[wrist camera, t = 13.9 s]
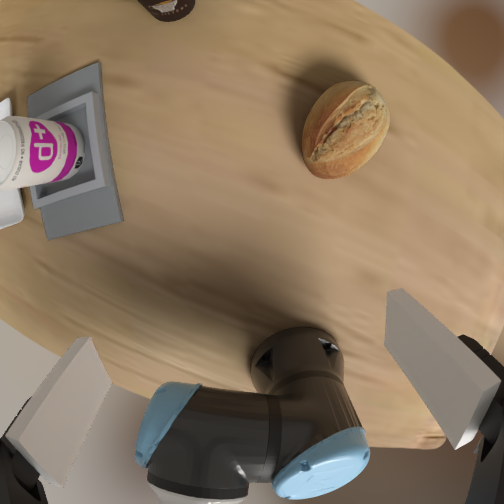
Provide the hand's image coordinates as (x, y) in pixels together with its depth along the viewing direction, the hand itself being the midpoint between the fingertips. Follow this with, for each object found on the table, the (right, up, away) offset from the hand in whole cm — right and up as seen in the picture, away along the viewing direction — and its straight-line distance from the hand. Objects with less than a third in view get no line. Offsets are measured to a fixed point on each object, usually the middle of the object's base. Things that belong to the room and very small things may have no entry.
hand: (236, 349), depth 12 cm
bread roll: (+12, +20, +25) cm, 34 cm away
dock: (-26, +18, +24) cm, 40 cm away
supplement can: (-26, +18, +23) cm, 39 cm away
